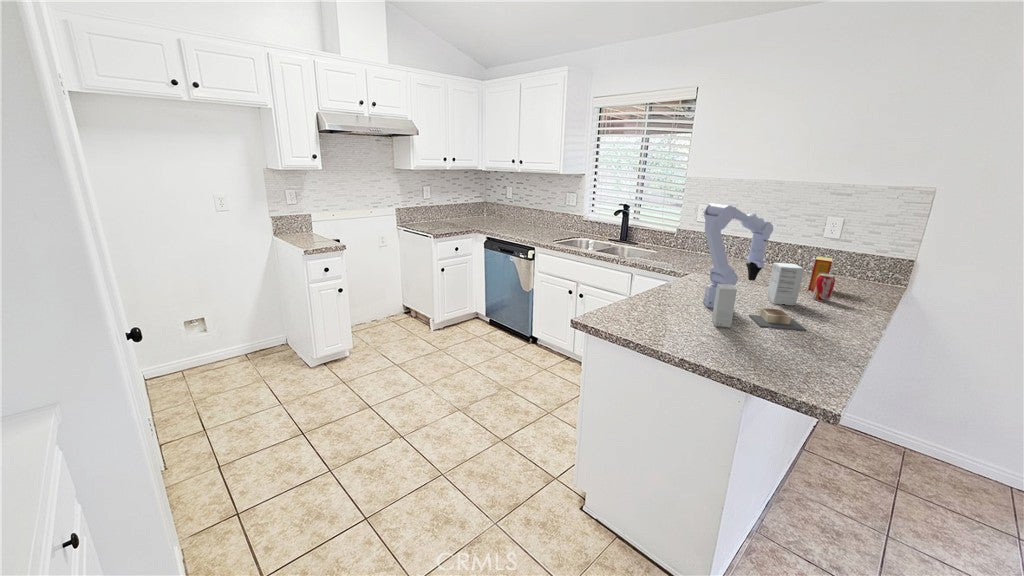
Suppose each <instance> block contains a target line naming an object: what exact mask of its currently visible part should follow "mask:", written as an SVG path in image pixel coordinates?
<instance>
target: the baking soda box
mask: <svg viewBox="0 0 1024 576" xmlns="http://www.w3.org/2000/svg"><path fill="white" fill-rule="evenodd" d="M832 263H833V258H832V257H828V256H827V257H826V256H818V255H816V258H815V261H814V264H813V268H812V272H811V276H810V280H809V284H808V289H807V290H808V291H810V290H812V292H813V289H814V285H815V281H816V278H817V276H818V275H819V273H826V274H830V271H831V267H832Z"/></svg>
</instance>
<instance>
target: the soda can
mask: <svg viewBox="0 0 1024 576" xmlns="http://www.w3.org/2000/svg"><path fill="white" fill-rule="evenodd" d="M835 284H836V279H835V275H834V274H832V273H829V274H826V273H819V275H818V276H817V278H816V281H815V285H814V289H813V291H812V296H811V298H812V299H813V300H814V299H815V300H814V301H817V300H818V301H817V302H821V301H823V302H822V303H826V302H829V301H831V298H832V294H833V291H834V288H835Z"/></svg>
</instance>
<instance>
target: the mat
mask: <svg viewBox="0 0 1024 576" xmlns="http://www.w3.org/2000/svg"><path fill="white" fill-rule="evenodd" d="M748 317H749V318H751V320H752V321H753V322H755V324H756V325H757V326H759V328H760V327H761V328H768V327H771V328H770V329H779V328H782V329H781V330H790V329H793V331H801V330H804V331H805V332H806V331H807V329H806V328H805V327H804V326H803V325H802V324H801V323H799V322H798V321H796V320H795V319H794V318H793V317H791V321H790V324H781V323H769V322H766V321H765V320H764V319H763V318H762V317H761V316H760V315H759V314H758V315H755V314H748Z"/></svg>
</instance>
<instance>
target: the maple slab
mask: <svg viewBox="0 0 1024 576" xmlns="http://www.w3.org/2000/svg"><path fill="white" fill-rule="evenodd" d="M758 315H759V316H761V317H762V318H763V319H764V320H765V321H766V322H769V323H781V324H790V321H791V318H792V316H791V315H790V314H789V313H787V312H786V311H785V310H783V309H781V308H780V309H778V308H768V307H767V308H766V307H760V308H759V313H758Z"/></svg>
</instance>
